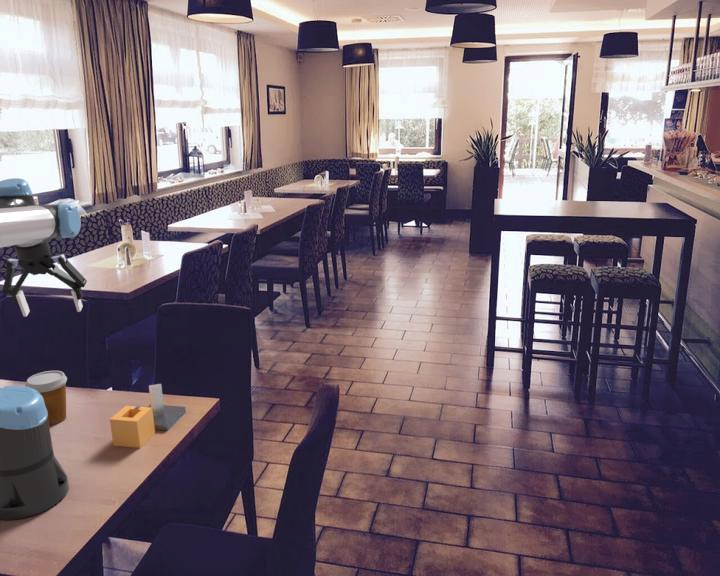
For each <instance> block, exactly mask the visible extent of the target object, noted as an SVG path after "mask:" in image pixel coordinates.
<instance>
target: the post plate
mask: <svg viewBox="0 0 720 576" xmlns="http://www.w3.org/2000/svg"><path fill="white" fill-rule="evenodd" d="M148 390H149V391H148V392H149V400H150V404H149V405H148V406H147V407H150V408H152V411H153V419H154V427H155V431H167V432H168V431H169V430H170V429H171V428H172V427H173V426H174V425H175V424H176V423H177V422H178V421H179V420H180V419H181V417H183V416H184V414H186V412H187V410H186V406H180V405H179V406H178V405H167V404H164V397H163V387H162V383H156V384H149V385H148Z"/></svg>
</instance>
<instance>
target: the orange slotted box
mask: <svg viewBox="0 0 720 576" xmlns="http://www.w3.org/2000/svg"><path fill="white" fill-rule="evenodd" d="M109 423H110V430H111V436H112V444H113V446H114V447H115V446H116V447H126V448H139V449H141V448H142V447H144V445H145V444H146V443H147V442H148V441H149V440H150V439H151V438H152V437H153V436H154V435H155V434H156V430H155V427H154V419H153V411H152V408H150V407H148V406H147V407H146V406H138V405H137V406H135V405H134V406H133V405H124V407H123V408H121V409H120V410H119V411H118V412H117V413H115V414H114V415H113V416H112V417H111V418H109Z"/></svg>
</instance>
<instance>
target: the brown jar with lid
mask: <svg viewBox="0 0 720 576" xmlns="http://www.w3.org/2000/svg"><path fill="white" fill-rule="evenodd" d="M67 381H68V377H67V376H66V374H65V373H64V372H63V371H61V370H48V371H46V370H45V371H43V372H38V373H36V374H35V373H34V374H33V375H31V376H29V377H28V378H27V379H26V383H25V387H29V388H32V389H35V390H36V391H38V392H39V393H40V394H41V395H42V397H43V399H44V403H45V407H46V409H47V411H48V422H49V426H53V425H57V424H60V423H62V422H64V421H65V420H66V419H67V385H66V383H67Z"/></svg>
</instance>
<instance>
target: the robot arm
mask: <svg viewBox="0 0 720 576" xmlns="http://www.w3.org/2000/svg"><path fill="white" fill-rule="evenodd" d="M81 227H82V219H81V214H80V212H79V209H78V208H77V207H76V206H74V205H73V204H62V203H58V204H36V202H35V198H34V194H33V191H32V189H31V187H30V185H29V183H28V181H27V180H25V179H23V178H18V177H17V178H15V177H14V178H7V179H3V180H0V249H1V248H2V249H3V248H5V247H11V246H13V248H14V252H15V253H16V257H17V259H16V258H14V257H9V258H8V259H7V261H6V263H5V265H6V274H5V278H4V283H3V287H2V291H1V292H2V294H3V295H7V294H8V295H11V296H12V299H13V301H14V303H15V305H16V306H19V308H20V311H21V313H22V317H25V318H26V317H28V315H29V313H30V311H31V310H30V307H29V304H28V302H27V300H26V299H27V298H26V297H25V293H24V291H23V290H22V289H21V287H22V285H23V283H25V280H26V279H27V277H28V275H29V274H30V275H32V276H37V275H46V274H48V275H50V276H51V277H52V276H53V277H55V278H56V279H58V280H59V281H60V282H62V283H64V284H65V285H67V286H68V287H70V288H71V290H70V292H71V296H72V299H73V303H74V305H75V308H76V312H78V313H80V312H81V311H82V309H83V307H84V306H83V302H82V299H83V297H84V293H83V289H82V288H84V287H85V286H86V283H87V282H88V280H87V279H86V278H85V277H84V275H82V273H80V271H78V269H77V268H76V267H75V266H74V265H73V264H72V263H71V262H70V261H69V259H68V258H67V255H66V253H63V252H62V253H60V255H55V256H54V255H53V254H52V253H51V249H50V245H49V243H48V240H49V239H66V238H75V237H77V235H79V233H80V230H81V229H82V228H81ZM55 263H56V264H55ZM58 265H59V266H60V267H61V268H62V269H63V270H62V269H61V268H60V267H59V266H58ZM17 266H19V267H21V268H22V269H23V272H22V273H21V275H20V276H19V279H18V280H17V281H16V283H15V285H14V286H13V287H12V283H13V279H14V275H15V271H16V268H17ZM19 289H21V290H19ZM53 446H54V445H53V441H52V435H51V429H50V425H49V422H48V411H47V409H46V407H45V403H44V399H43V397H42V395H41V394H40V393H39V392H38V391H36V390H35V389H32V388H29V387H26V385H5V386H3V387H0V520H2V521H3V520H4V521H12V520H13V521H14V520H21V519H25V518H30V517H33V516H35V515H38V514H41V513H43V512H45V511H47V510H49V509H51V508H53V507H54V506H56V505H57V504H59V503H60V502H61V501H62V500H63V499H64V498H65V497H64V496H67V493H68V492H69V490H70V484H69V478H68V477H69V476H68V474H67V473H66V472H65V470H64V468H63V466H62V465H61V463H60V462H59V461H58V459H57V458H56V456H55V452H54V447H53ZM63 497H64V498H63ZM62 498H63V499H62ZM61 499H62V500H61ZM60 500H61V501H60ZM59 501H60V502H59ZM55 504H56V505H55ZM52 506H53V507H52Z"/></svg>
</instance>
